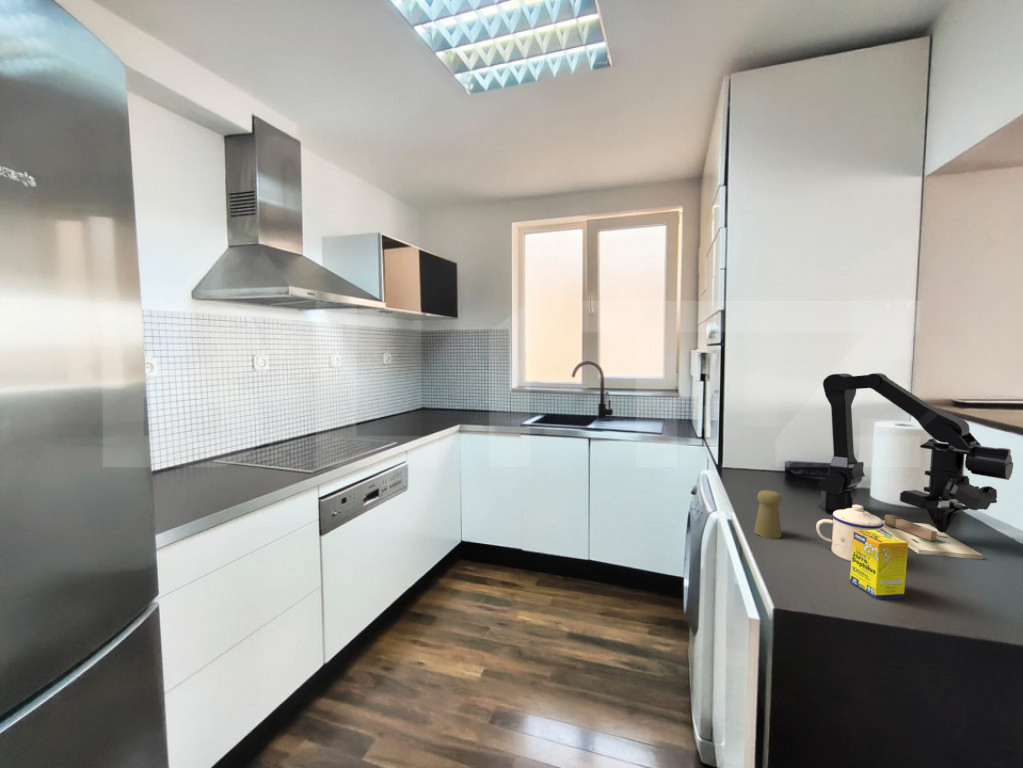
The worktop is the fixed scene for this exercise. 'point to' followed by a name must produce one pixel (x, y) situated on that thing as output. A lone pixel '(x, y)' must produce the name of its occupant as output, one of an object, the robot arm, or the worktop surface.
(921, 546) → the dial plate
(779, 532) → the cork
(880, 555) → the supplement box
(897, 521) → the walnut lever
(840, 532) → the teacup with lid
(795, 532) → the worktop surface
